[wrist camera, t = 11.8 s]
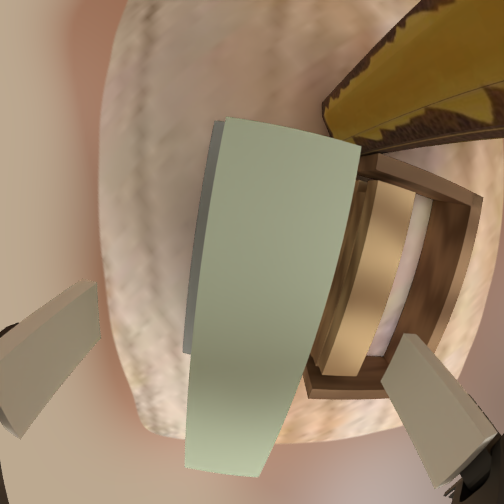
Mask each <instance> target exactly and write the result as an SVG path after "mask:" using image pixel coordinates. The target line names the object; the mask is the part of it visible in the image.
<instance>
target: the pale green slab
mask: <svg viewBox="0 0 504 504" xmlns="http://www.w3.org/2000/svg"><path fill="white" fill-rule="evenodd" d="M360 152H361V146H358V145H355V144H352V143H348V142H345V141H342V140H338V139H334V138H331V137H327V136H323V135H319V134H315V133H311V132H307V131H303V130H298V129H294V128H289V127H284V126H279V125H274V124H269V123H264V122H258V121H252V120H246V119H240V118H233V117H226V120H225V125H224V130H223V135H222V140H221V145H220V150H219V155H218V161H217V166H216V172H215V177H214V183H213V189H212V195H211V201H210V207H209V213H208V220H207V226H206V233H205V240H204V247H203V254H202V261H201V269H200V276H199V284H198V293H197V301H196V310H195V319H194V329H193V339H192V349H191V361H190V373H189V386H188V401H187V418H186V439H185V467H187V468H191V469H196V470H202V471H208V472H214V473H221V474H228V475H237V476H248V477H259V475H260V473H261V471H262V469H263V467H264V465H265V463H266V461H267V458H268V456H269V454H270V452H271V450H272V448H273V445H274V443H275V441H276V439H277V437H278V434H279V432H280V430H281V427H282V425H283V423H284V420H285V418H286V415H287V413H288V411H289V408H290V406H291V403H292V401H293V398H294V395H295V393H296V390H297V388H298V385H299V382H300V380H301V377H302V374H303V372H304V369H305V366H306V363H307V360H308V358H309V355H310V352H311V349H312V346H313V343H314V340H315V337H316V334H317V331H318V328H319V325H320V321H321V318H322V315H323V312H324V308H325V305H326V302H327V298H328V295H329V291H330V288H331V284H332V281H333V277H334V273H335V270H336V266H337V262H338V258H339V254H340V250H341V246H342V242H343V238H344V234H345V229H346V225H347V220H348V216H349V211H350V206H351V202H352V197H353V192H354V187H355V181H356V176H357V170H358V165H359V159H360Z"/></svg>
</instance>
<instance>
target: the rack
mask: <svg viewBox="0 0 504 504" xmlns="http://www.w3.org/2000/svg"><path fill="white" fill-rule="evenodd" d="M357 175H360V176H364V177H367V178H370V179H374V180H379V181H382V182H385V183H388V184H391V185H395V186H398V187H401V188H404V189H406V190H409V191H412V192H415V193H416V194H419V195H422V196H425V197H427V198H430V199H433V205H432V210H431V215H430V219H429V224H428V228H427V233H426V237H425V241H424V245H423V248H422V252H421V256H420V259H419V263H418V266H417V270H416V273H415V276H414V279H413V282H412V286H411V289H410V292H409V295H408V297H407V300H406V303H405V306H404V309H403V311H402V314H401V317H400V319H399V322H398V324H397V327H396V329H395V332H394V334H393V337H392V339H391V341H390V344H389V346H388V348H387V350H386V353H385V355H384V357H378V356H366V357H365V359H364V361H363V363H362V366H361V368H360V370H359V372H358V374H357V376H333V375H322V374H321V371H320V368H319V366H315V363H314V360H313V357H311V354H310V355H309V358H308V360H307V363H306V366H305V369H304V372H303V378H304V382H305V386H306V391H307V395H308V399H383V398H389V396H388V394H387V392H386V391H385V389H384V387H383V385H382V383H381V380H382V378H383V376H384V374H385V372H386V370H387V368H388V366H389V364H390V362H391V360H392V358H393V356H394V354H395V351H396V349H397V347H398V345H399V343H400V340H401V338H402V336H403V334H404V333H407V334H417V336H418V337H419V338H420V339H421V340H422V341H423V342H424V343H425V344H426V345H427V347H428V348H429V349H430V350H431V351H432V352H433V353H435V351H436V348H437V346H438V344H439V342H440V340H441V338H442V335H443V333H444V331H445V329H446V326H447V324H448V322H449V319H450V317H451V314H452V312H453V309H454V306H455V304H456V301H457V298H458V296H459V293H460V290H461V287H462V284H463V281H464V278H465V275H466V271H467V268H468V265H469V261H470V257H471V254H472V250H473V246H474V242H475V238H476V233H477V229H478V224H479V219H480V214H481V208H482V202H483V197H481V196H479V195H477V194H475V193H473V192H471V191H469V190H467V189H465V188H463V187H461V186H459V185H457V184H455V183H453V182H451V181H448V180H446V179H444V178H442V177H439V176H437V175H435V174H432V173H430V172H428V171H425V170H423V169H420V168H418V167H415V166H413V165H410V164H408V163H405V162H402V161H400V160H397V159H394V158H391V157H388V156H386V155H383V154H380V153H377V154H372V155H367V156H362V157H360V159H359V165H358V170H357Z"/></svg>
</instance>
